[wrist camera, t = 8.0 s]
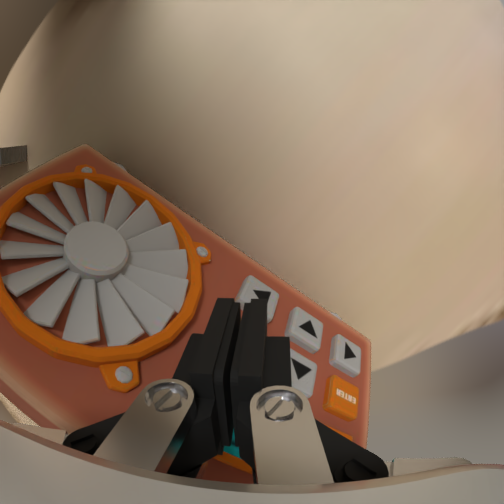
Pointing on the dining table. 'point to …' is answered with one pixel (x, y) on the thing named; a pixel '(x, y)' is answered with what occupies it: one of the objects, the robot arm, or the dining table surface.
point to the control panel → (142, 304)
